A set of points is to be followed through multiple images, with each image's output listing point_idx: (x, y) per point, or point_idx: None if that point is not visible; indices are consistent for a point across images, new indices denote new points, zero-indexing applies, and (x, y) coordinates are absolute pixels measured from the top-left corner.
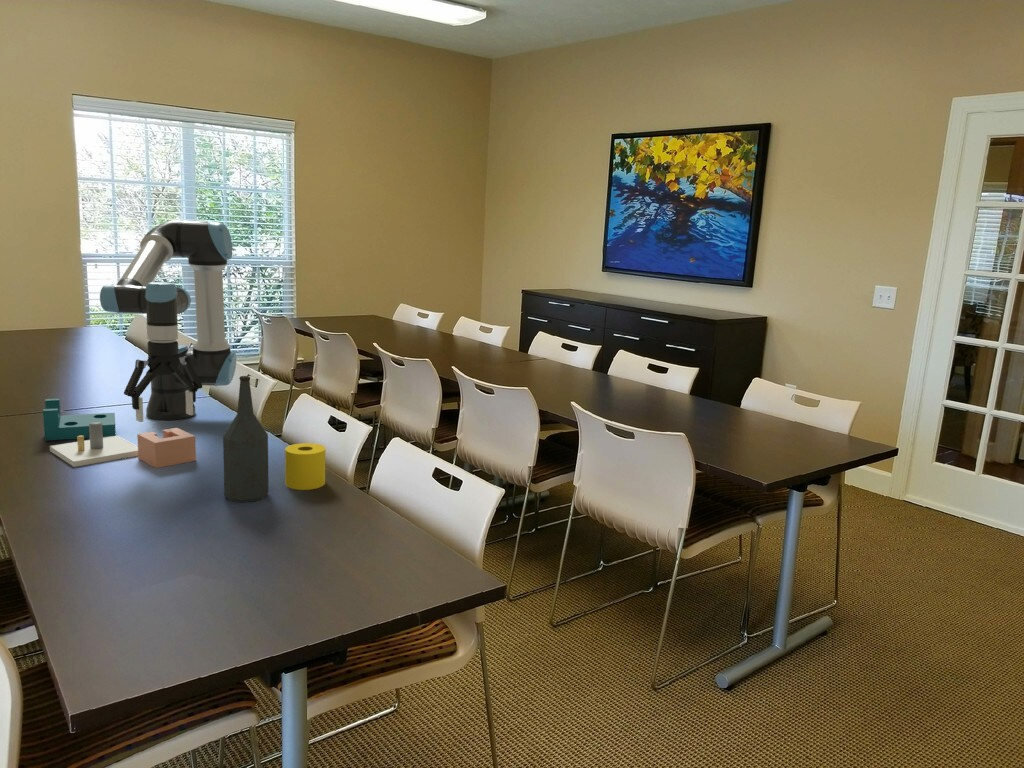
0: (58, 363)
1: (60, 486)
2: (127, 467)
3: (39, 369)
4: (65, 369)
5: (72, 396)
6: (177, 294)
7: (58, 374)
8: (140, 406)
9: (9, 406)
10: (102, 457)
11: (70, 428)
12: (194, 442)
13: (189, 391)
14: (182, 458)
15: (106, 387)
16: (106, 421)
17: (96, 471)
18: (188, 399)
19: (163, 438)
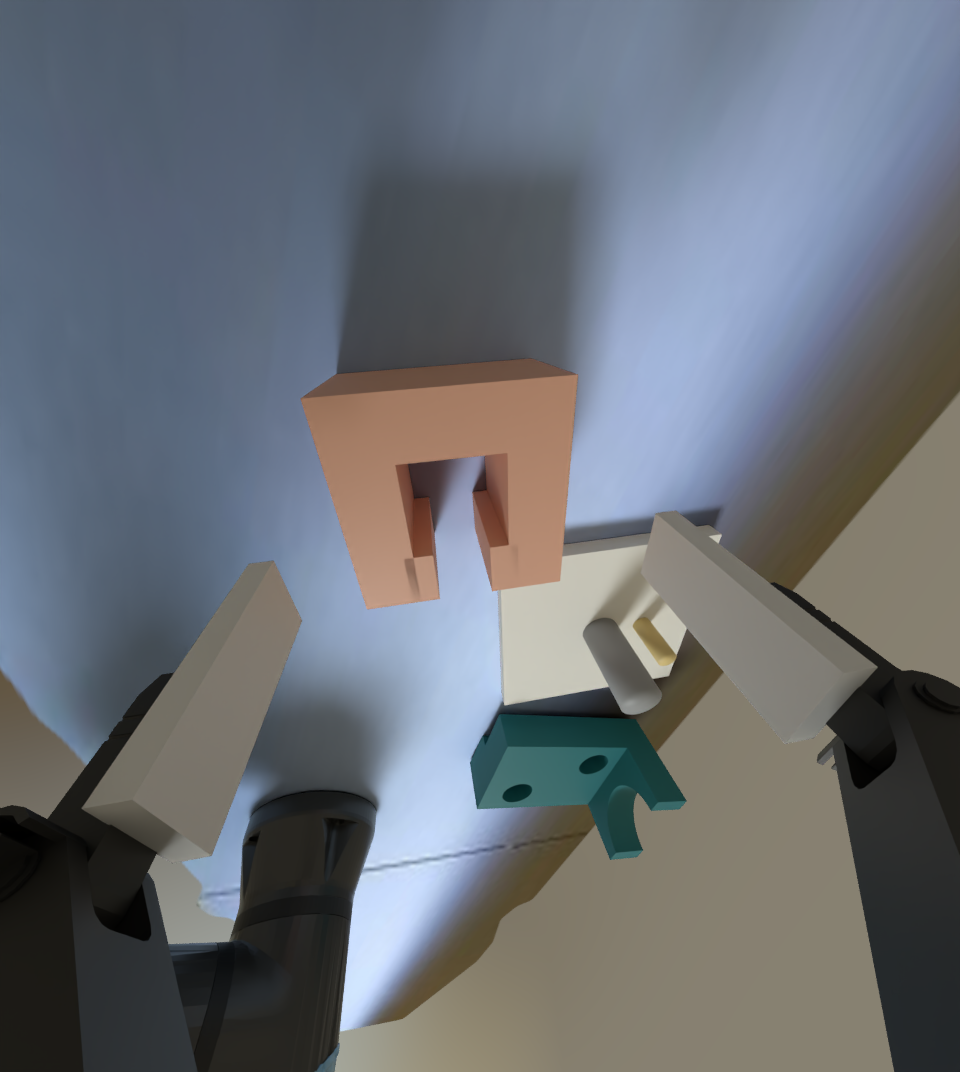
0: (425, 968)
1: (877, 332)
2: (605, 436)
3: (456, 953)
4: (425, 957)
5: (462, 891)
6: None
7: (442, 945)
8: (772, 591)
9: (563, 861)
10: (635, 544)
11: (603, 743)
12: (318, 390)
13: (147, 833)
14: (404, 371)
15: (396, 919)
16: (518, 765)
17: (698, 446)
18: (224, 706)
19: (496, 448)
